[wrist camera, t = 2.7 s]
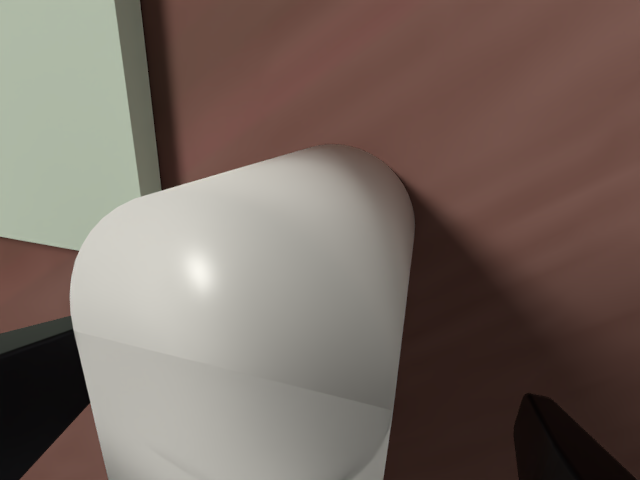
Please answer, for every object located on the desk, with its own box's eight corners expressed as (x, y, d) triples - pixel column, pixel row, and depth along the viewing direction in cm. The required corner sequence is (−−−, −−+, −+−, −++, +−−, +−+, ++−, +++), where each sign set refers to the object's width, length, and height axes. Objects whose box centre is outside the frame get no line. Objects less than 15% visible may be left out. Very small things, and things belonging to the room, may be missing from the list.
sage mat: (168, 252, 11) (149, 263, 10) (-24, 220, 13) (-52, 227, 12) (99, -352, 7) (58, -409, 6) (-171, -259, 9) (-227, -294, 8)
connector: (376, 504, 12) (337, 791, 7) (264, 469, 13) (159, 697, 8) (426, 150, 8) (420, 216, 3) (258, 138, 9) (36, 171, 4)
